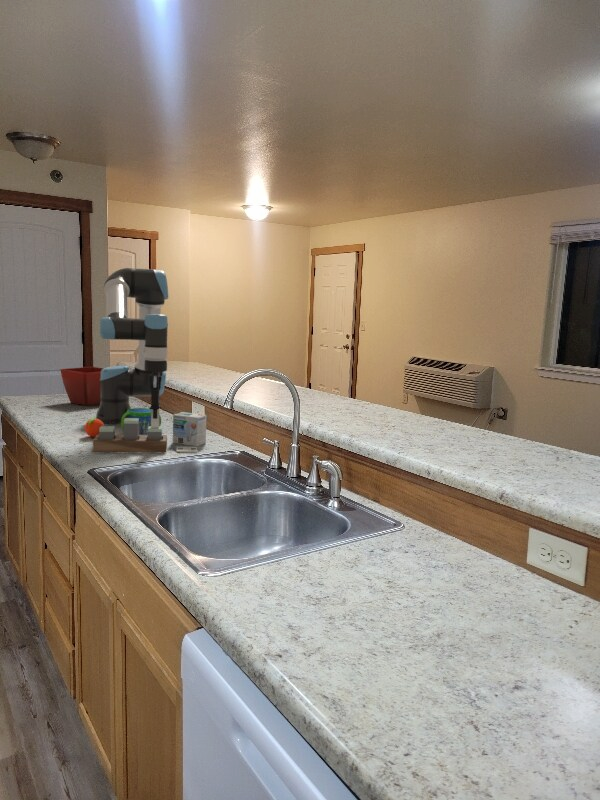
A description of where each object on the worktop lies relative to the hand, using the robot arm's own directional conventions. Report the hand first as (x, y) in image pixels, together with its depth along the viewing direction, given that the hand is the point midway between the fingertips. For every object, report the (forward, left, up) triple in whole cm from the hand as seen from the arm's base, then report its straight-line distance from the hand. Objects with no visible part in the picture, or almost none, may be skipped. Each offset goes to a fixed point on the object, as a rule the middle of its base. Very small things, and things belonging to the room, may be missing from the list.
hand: (155, 427), depth 208 cm
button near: (0, -16, -7) cm, 18 cm away
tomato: (-19, -23, -8) cm, 31 cm away
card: (+2, +11, -8) cm, 14 cm away
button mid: (0, -8, -4) cm, 9 cm away
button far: (0, 0, -7) cm, 7 cm away
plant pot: (-96, -36, -8) cm, 103 cm away
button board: (0, -8, -8) cm, 11 cm away
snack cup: (-21, -6, -8) cm, 23 cm away
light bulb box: (-10, +12, -8) cm, 18 cm away
